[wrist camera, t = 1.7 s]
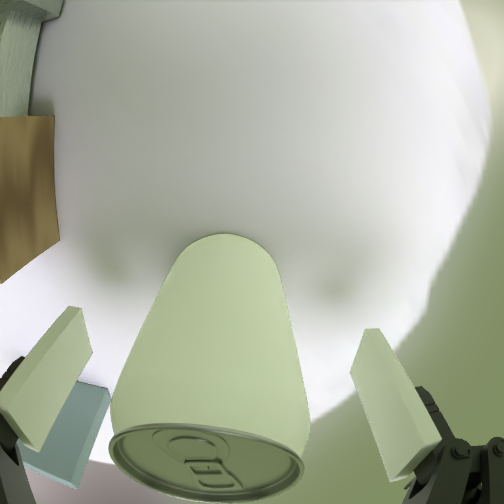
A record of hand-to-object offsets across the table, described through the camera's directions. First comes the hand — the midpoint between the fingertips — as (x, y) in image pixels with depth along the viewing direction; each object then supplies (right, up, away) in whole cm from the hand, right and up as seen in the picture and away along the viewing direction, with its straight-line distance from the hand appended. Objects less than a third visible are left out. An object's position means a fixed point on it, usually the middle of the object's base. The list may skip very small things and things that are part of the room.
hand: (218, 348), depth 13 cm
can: (0, +2, +5) cm, 6 cm away
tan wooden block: (-15, +9, +2) cm, 17 cm away
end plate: (-16, -8, +9) cm, 20 cm away
